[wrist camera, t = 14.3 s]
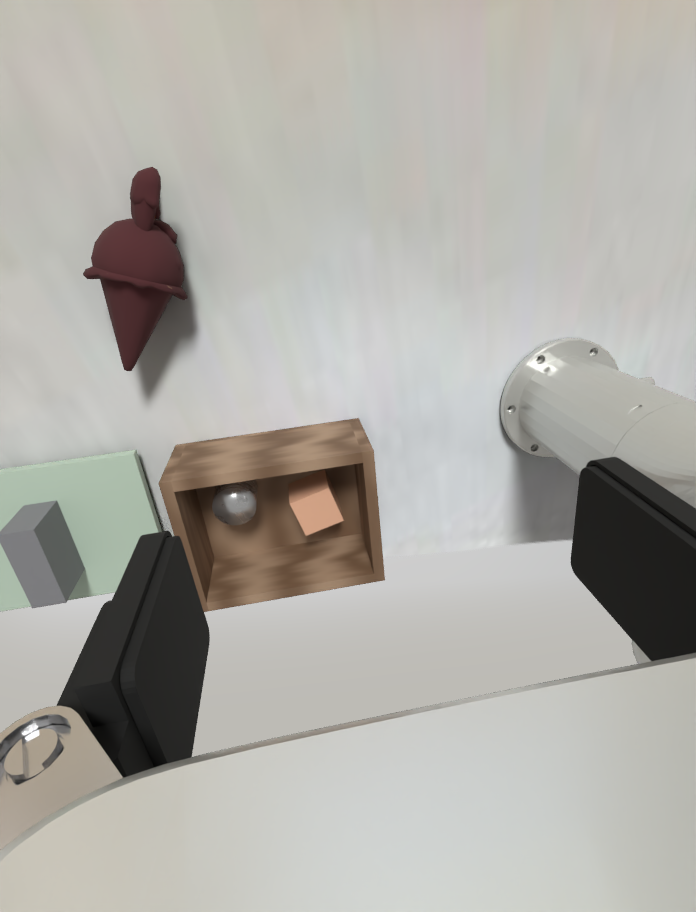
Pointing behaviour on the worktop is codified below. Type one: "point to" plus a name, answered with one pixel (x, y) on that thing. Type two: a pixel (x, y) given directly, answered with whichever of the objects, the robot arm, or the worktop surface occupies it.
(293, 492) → the terracotta cube
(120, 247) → the icecream
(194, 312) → the worktop surface
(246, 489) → the shiny steel ball
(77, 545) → the lid
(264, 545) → the box
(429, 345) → the worktop surface
